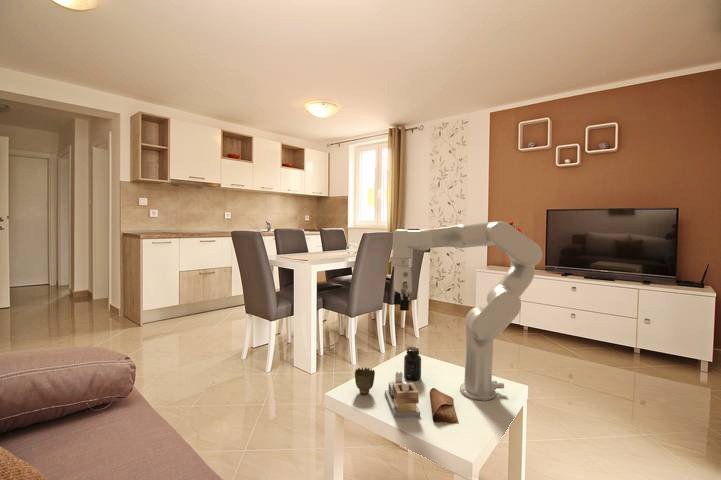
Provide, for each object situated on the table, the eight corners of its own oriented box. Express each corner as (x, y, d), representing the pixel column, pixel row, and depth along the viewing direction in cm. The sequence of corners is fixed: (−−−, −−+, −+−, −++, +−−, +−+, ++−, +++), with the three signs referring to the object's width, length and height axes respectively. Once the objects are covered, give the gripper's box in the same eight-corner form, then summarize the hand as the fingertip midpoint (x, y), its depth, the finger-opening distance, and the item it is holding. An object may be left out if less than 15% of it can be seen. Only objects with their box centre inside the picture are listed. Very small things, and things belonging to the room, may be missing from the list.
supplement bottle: (408, 373, 148) (409, 344, 148) (423, 377, 144) (424, 348, 144) (400, 378, 143) (401, 349, 142) (415, 383, 139) (416, 353, 138)
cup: (372, 399, 126) (373, 376, 125) (352, 396, 127) (352, 374, 127) (375, 389, 133) (376, 368, 133) (356, 387, 134) (357, 366, 134)
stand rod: (404, 390, 130) (405, 367, 129) (408, 398, 124) (409, 374, 123) (388, 390, 129) (389, 368, 129) (391, 398, 123) (392, 375, 123)
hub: (411, 402, 121) (411, 378, 120) (416, 411, 115) (416, 386, 115) (393, 402, 120) (394, 379, 120) (398, 412, 114) (398, 387, 114)
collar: (412, 392, 121) (412, 382, 121) (418, 403, 114) (418, 392, 114) (392, 393, 120) (392, 383, 120) (397, 403, 113) (397, 393, 113)
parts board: (407, 393, 130) (407, 389, 130) (420, 416, 115) (420, 412, 115) (384, 394, 129) (384, 390, 129) (394, 417, 114) (394, 413, 113)
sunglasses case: (460, 424, 110) (450, 405, 111) (440, 434, 111) (430, 415, 112) (452, 397, 128) (443, 380, 129) (435, 405, 129) (426, 389, 129)
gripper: (418, 265, 126) (417, 312, 127) (406, 260, 144) (404, 302, 144) (398, 264, 125) (396, 313, 126) (387, 260, 143) (386, 302, 143)
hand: (401, 307), depth 135 cm, fingers open, 9 cm apart
